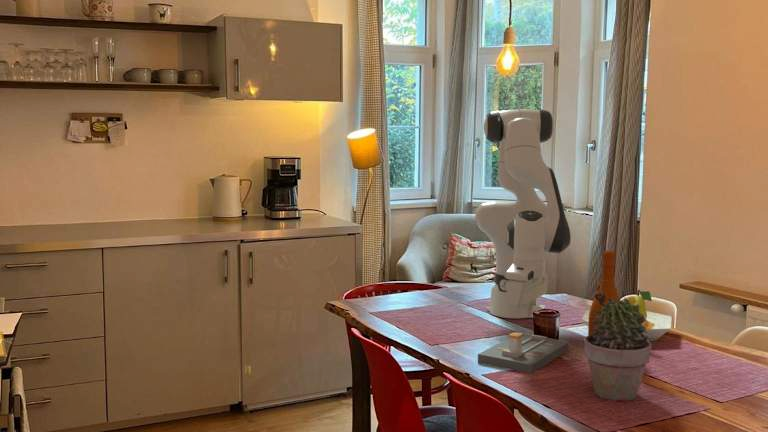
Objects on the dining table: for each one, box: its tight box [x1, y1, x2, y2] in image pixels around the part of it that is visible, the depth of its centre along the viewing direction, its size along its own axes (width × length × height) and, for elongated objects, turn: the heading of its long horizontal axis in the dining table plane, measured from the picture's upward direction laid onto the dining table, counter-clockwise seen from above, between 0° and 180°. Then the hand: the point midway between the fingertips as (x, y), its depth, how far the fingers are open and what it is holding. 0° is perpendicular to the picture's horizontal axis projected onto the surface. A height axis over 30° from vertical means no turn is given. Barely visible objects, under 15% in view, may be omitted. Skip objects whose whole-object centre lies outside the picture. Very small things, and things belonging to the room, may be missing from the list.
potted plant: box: [578, 289, 663, 402], centre depth 186 cm, size 18×20×25 cm
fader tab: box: [508, 332, 524, 353], centre depth 212 cm, size 3×3×5 cm
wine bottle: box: [587, 249, 622, 336], centre depth 218 cm, size 10×10×30 cm
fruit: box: [581, 289, 672, 342], centre depth 240 cm, size 30×26×14 cm
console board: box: [477, 332, 570, 374], centre depth 218 cm, size 26×16×4 cm, turn 145°
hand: (527, 315), depth 221 cm, fingers closed
